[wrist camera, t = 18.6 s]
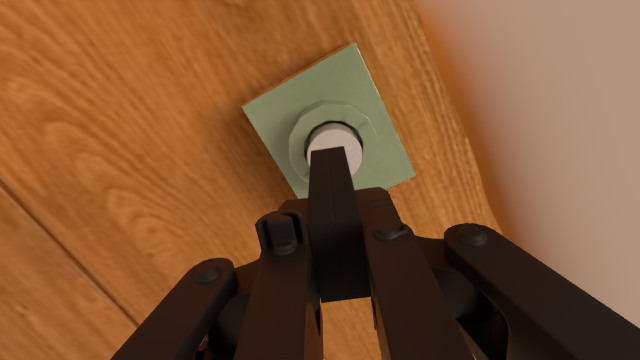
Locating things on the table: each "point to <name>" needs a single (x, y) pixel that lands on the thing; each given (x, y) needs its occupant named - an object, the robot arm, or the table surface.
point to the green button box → (329, 120)
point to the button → (337, 143)
